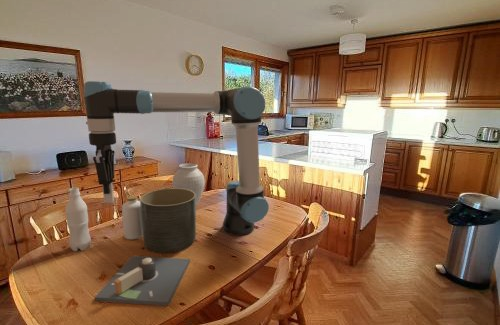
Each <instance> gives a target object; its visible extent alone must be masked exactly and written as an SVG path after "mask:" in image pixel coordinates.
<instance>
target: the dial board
mask: <svg viewBox="0 0 500 325" xmlns="http://www.w3.org/2000/svg"><path fill="white" fill-rule="evenodd" d="M145 258H152V259H154V260H155V268H156V275H155V276H154V277H153V278H152V279H149V280H142V281H140V282H138V283H137V284H135V285H134V286H132V287H130V288H129V289H127V290H125V291H124V292H122V293H121V294H117V293H116V292H115V284H114V280H116V279H118V278H119V277H121V276H123V275H125V274H127V273H128V272H130V271H132V270H134V269H136V268H137V267H139V262H140V261H141V260H143V259H145ZM190 263H191V259H190V258H177V257H175V258H174V257H163V256H162V257H161V256H144V255H143V256H141V255H132V256H131V257H130V258H128V260H127V261H126V262H125V263H124V264H123V265H122V267H121V268H120V269H119V270H117V272H116V273H115V274H114V275H113V277H111V279H110V280H109V281H108V282H107V283H106V284H105V285H104V286H103V287H102V289H101V290H100V291H99V292H98V293H97V294H96V295H95V297H94V301H95V302H105V303H107V302H108V303H120V304H121V303H123V304H133V305H134V304H135V305H149V306H163V305H164V306H166V307H168V306H169V305H170V303H171V301H172V299H173V297H174V295H175V293H176V291H177V289H178V288H179V285H180V283H181V281H182V279H183V277H184V274H185V273H186V271H187V269H188V267H189V265H190ZM164 306H163V307H164Z"/></svg>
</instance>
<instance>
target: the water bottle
mask: <svg viewBox="0 0 500 325" xmlns="http://www.w3.org/2000/svg"><path fill="white" fill-rule="evenodd" d="M68 191H69V194H68V196H69V200H68V202H67V203H66V206H65V209H64V210H65V217H66V225H67V228H68V232H69V242H68V244H69V247H70V249H71V250H72V251H73V252H78V251H79V250H80V251H86V250H87V249H88V248H89V247H90V246H91V244H92V242H91V241H92V239H91V234H90V231H89V215H88V214H89V213H88V206H87V204H86V202H85V201H84V200H83V198H82V197H81V192H80V188H79V187H71V188H69V190H68Z"/></svg>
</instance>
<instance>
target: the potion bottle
mask: <svg viewBox="0 0 500 325" xmlns="http://www.w3.org/2000/svg"><path fill="white" fill-rule="evenodd" d="M121 214H122V224H123V225H122V227H123V235H124V238H125V239H127V240H130V241H131V240H138V239H140V238H143V229H142V219H141V207H140V200H138V196H136V195H130V196H127V197H126V201H125V202H124V203H123V204H122V205H121Z"/></svg>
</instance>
